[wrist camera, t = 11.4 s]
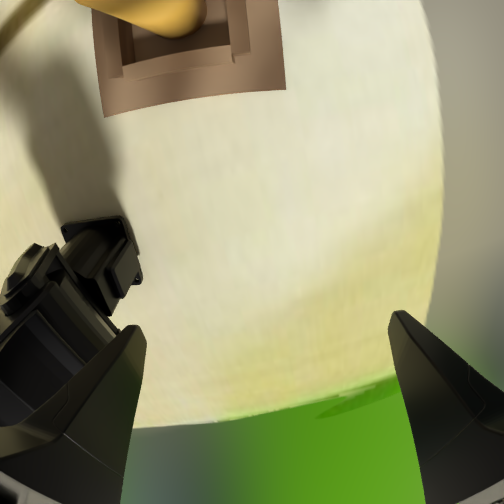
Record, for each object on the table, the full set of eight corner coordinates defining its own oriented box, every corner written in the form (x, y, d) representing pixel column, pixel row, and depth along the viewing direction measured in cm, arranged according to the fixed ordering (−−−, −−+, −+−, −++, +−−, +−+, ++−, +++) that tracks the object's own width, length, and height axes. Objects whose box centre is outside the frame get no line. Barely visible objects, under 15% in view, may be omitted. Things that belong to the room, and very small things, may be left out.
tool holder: (110, 115, 18) (88, 123, 15) (97, -27, 11) (75, -37, 9) (284, 89, 17) (289, 90, 14) (267, -64, 11) (269, -84, 8)
